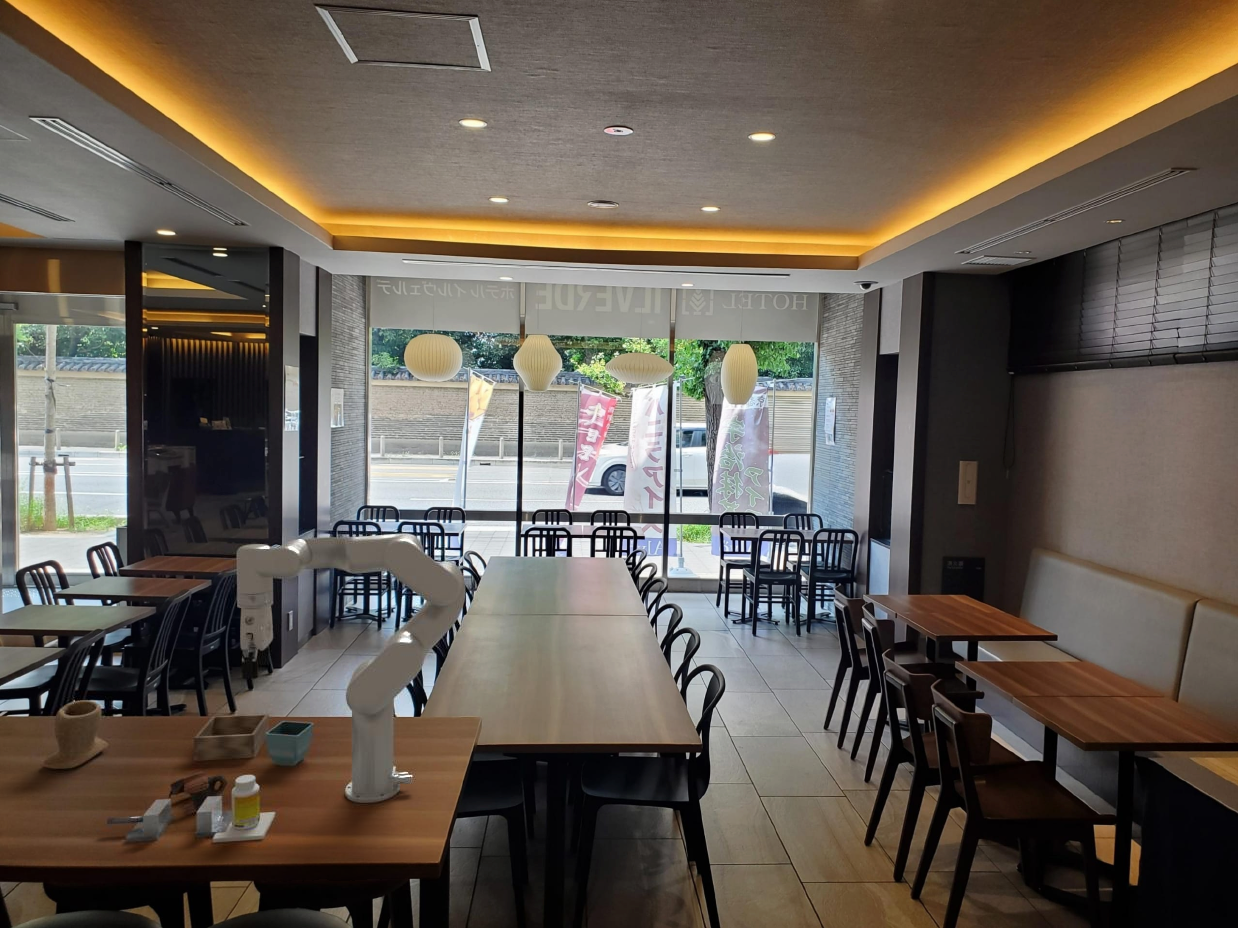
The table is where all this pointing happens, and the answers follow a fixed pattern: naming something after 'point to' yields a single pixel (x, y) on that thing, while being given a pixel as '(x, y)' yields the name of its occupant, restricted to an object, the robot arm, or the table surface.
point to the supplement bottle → (245, 803)
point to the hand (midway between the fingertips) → (256, 671)
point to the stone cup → (76, 735)
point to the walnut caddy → (231, 737)
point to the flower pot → (289, 742)
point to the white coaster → (247, 830)
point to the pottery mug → (198, 789)
